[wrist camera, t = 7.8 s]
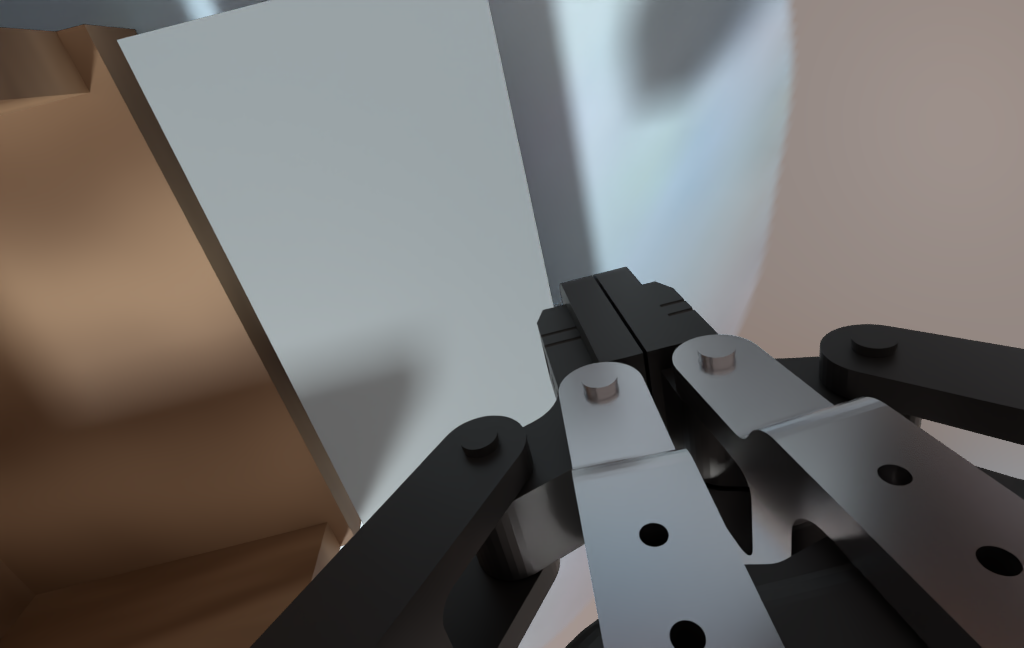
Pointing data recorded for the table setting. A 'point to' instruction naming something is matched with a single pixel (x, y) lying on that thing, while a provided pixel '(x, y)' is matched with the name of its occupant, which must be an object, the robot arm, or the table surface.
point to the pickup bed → (135, 383)
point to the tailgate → (366, 213)
